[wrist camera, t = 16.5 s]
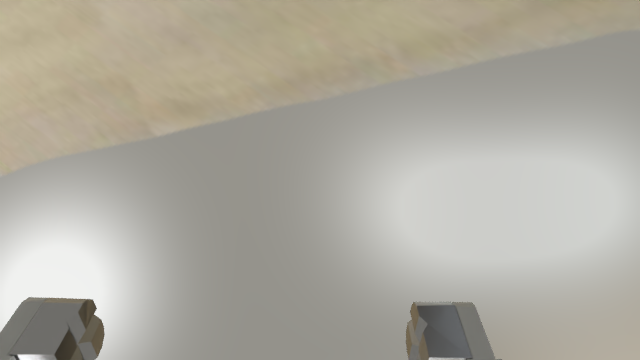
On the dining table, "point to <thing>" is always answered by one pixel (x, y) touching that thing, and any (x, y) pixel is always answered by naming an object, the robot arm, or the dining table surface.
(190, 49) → the dining table surface
